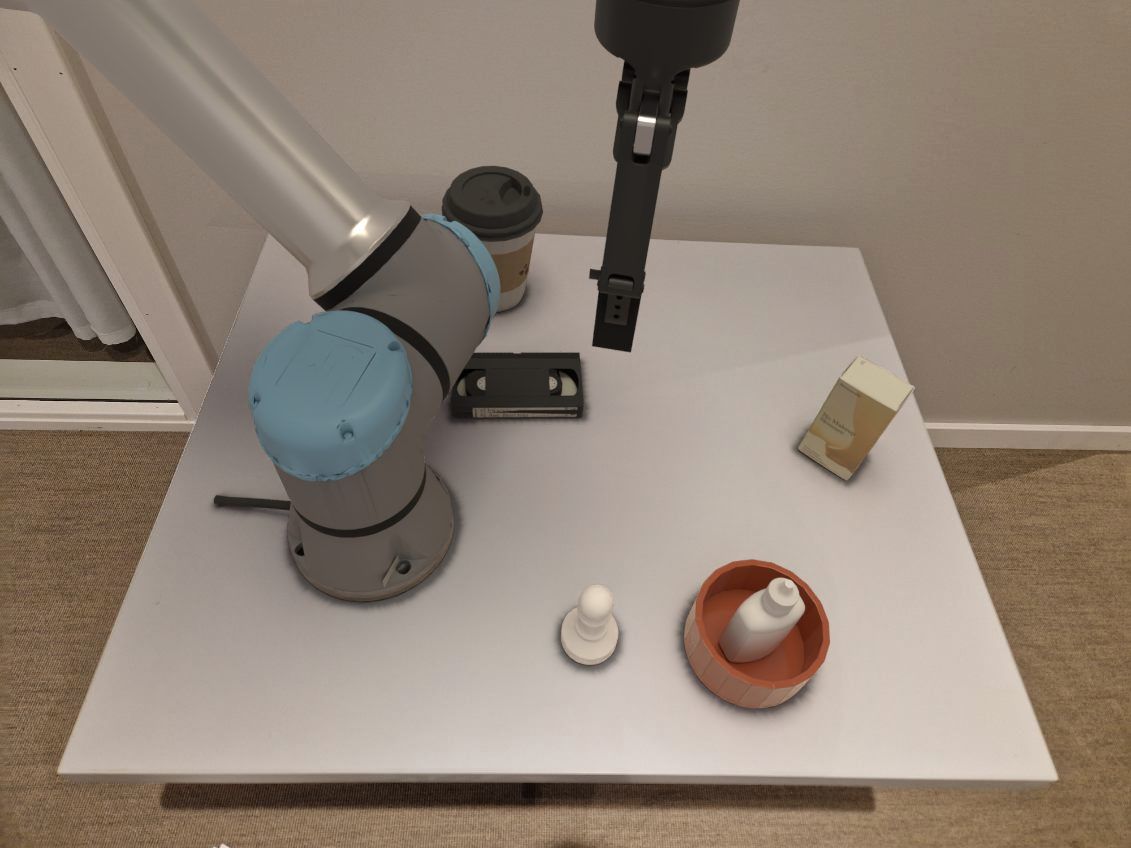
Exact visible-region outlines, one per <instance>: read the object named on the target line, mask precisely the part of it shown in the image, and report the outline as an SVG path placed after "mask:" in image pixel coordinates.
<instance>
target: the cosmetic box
mask: <svg viewBox="0 0 1131 848" xmlns="http://www.w3.org/2000/svg"><path fill="white" fill-rule="evenodd" d="M915 387H916V386H914V385H913V384H910V383H909V382H907V381H906V380H904V379H902V378H901V377H899V376H897V375H895V374H894V373H892V372H891V371H889V370H888V369H886V368H884V367H882V366H880V365H878V364H876V363H874V362H873V361H871V360H869V359H868V358H866V357H864V356H863V355H861V354H857V355H856V356H855V358H853V360H852V361H850V363H849V364H848V365H847V367H846V368H845V369H844V370H843V371H842V373H841V374H840V375H839V377H838V379H837V380H836V382H835V383H834V385H833V387H832V389H831V390H830V392H829V394H828V395H827V397H826V399H825V401H824V402H823V404H822V406H821V407H820V409H819V411H818V413H817V414H816V416H815V418H814V419H813V421H812V423H811V424H810V427H809V428H808V430H807V432H806V434H805V435H804V436H803V438H802V440H801V441H800V444H799V445H798V447H797V449H798V451H799V452H801V453H802V454H804V455H805V456H807V457H809V458H810V459H811V460H813V461H815V463H817V464H819V465H820V466H822V467H824V468H825V469H827V470H829V471H830V472H832V473H833V474H835V475H837V476H838V477H839V478H841V479H843V480H844V481H846V482H847V481H849V480H850V478H851V477H852V476H853V475H854V473H855V472H856V470H857V469H858V468H859V467H860V465H861V464H862V462H863V461H864V460H865V458H866V457H867V455H868V454H869V453H870V452H871V450H872V449H873V447H875V445H876V443H878V441H879V439H880V437H882V435H883V434H884V432H885V431H886V430H887V428H888V427H889V425H890V424H891V423H892V421H893V420H894V418H895V417H896V415H897V414H898V413H899V411H900V410H901V409H902V407H903V406H904V405H905V403H906V402H907V401H908V400H909V398H910V396H911V395H912V394H913V392H915V389H916V388H915Z"/></svg>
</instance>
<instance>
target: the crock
mask: <svg viewBox="0 0 1131 848" xmlns="http://www.w3.org/2000/svg"><path fill="white" fill-rule="evenodd" d="M776 578H785V579H788V580H791V581H793V583H794V584H795V585H796V586H797V589H798V591H799V595H800V597H801V599H802V600H803V602H804V605H805V611H804V613H803V615H802V616H801V618H800V619H799V620H798V622H797V623H796V624H795V626H794V627H793V628H792V629H791V631H790V632H789V633H788V635H787V636H786V637H785V638H784V640H783V641H782V642H781V644H780V645H779V646H778V647H777V648H776V649H775V650H774V651H773V652H771V653H770V654H769V655H767V656H765V657H763V658H761V659H759V660H756V661H752V662H746V663H734V662H731V661H729V660H728V659H727V658H726V656H725V654H724V652H723V650H722V648H721V646H720V644H719V639H720V637H721V635H722V634H723V632H724V630H725V629H726V627H727V625H728V624H729V622H730V620H731V619H732V617H733V615H734V614H735V612H736V611H737V609H738V608H739V607H740V605H741V604H742V603H743V602H744V601H745V600H746V599H747V598H749V597H750V596H751V595H753V594H755V593H756V592H758V591H760V590H763V589H766V588H767V587H768V585H769V583H770V582H771V581H772V580H774V579H776ZM683 643H684V650H685V653H686V658H687V660H688V663H689V665H690V666H691V669H692V670H693V672H694V674H695V675H696V677H697V678H698V679H699V681H700V682H701V683H702V684H703V685H704V686H705V687H706V688H707V689H708V690H709V691H710V692H712V693H713V694H714V695H716V696H717V697H718V698H720V699H721V700H724V701H725V702H727V703H729V704H732V705H734V706H738V707H742V708H745V709H755V710H756V709H757V710H758V709H768V708H773V707H776V706H778V705H781V704H783V703H785V702H786V701H788V700H790V698H792V697H794V696H795V695H796V694H797V693H798V692H799V691H800V690H801V689H802V688H803V687H804V686H805V685H806V684H807V683H808V682H809V681H810V680H811V679H812V678H813V677H814V675H815V674H816V673H817V672H818V671H819V669H820V668H821V667H822V665H823V664H824V663H825V661H826V659H827V655H828V651H829V648H830V645H831V635H830V622H829V618H828V616H827V614H826V610H825V608H824V606H823V603H822V601H821V600H820V599H819V597H818V596H817V594H816V593H815V592H814V591H813V589H812V588H811V587H810V585H809V584H808V583H807V582H806V581H804V580H803V579H802V578H801V577H799V576H798V575H797V574H796V573H794V572H793V571H792V570H789V569H788V568H785V567H783V566H781V565H778V564H776V563H774V562H772V561H771V562H770V561H765V560H759V559H755V558H753V559H751V558H750V559H742V560H734V561H731V562H728V563H727V564H725V565H722V566H720V567H718V568H716V569H715V570H714V571H713V572H712V573H711V574H710V575H709V576H708V577H707V578H706V579H705V580H704V581H703V583H702V584H701V587H700V589H699V591H698V592H697V595H696V597H695V599H694V601H693V604H692V606H691V608H690V610H689V613H688V615H687V617H686V620H685V625H684V630H683Z"/></svg>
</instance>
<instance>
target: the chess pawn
mask: <svg viewBox="0 0 1131 848" xmlns="http://www.w3.org/2000/svg"><path fill="white" fill-rule="evenodd" d="M614 601H615V600H614V597H613V594H612V592H611V590H609V589H608V588H607V587H606V586H604V585H602V584H591V585H589V586H586V587H585V588H583V590H582V591H581V592H580V595H579V598H578V604H577V606H576V607H574V608H573V609H571V610H570V611H569V612H568V613H567V614H566V616H565V617H564V619H563V621H562V624H561V629H560V641H561V646H562V648H563V650H564V652H565V653H566V655H568V657H569V658H570V659H572V660H573V661H574V662H576V663H579V664H581V665H585V666H594V665H598V664H601V663H603V662H605V661H607V660H608V659H609V658H610V657H611V656H612V654H613V653H614V652H615V650H616V646H617V643H618V640H619V627H618V623H617V621H616V619H615V618H614V616H613V614H612V613H613V612H612V611H613V608H614Z"/></svg>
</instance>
